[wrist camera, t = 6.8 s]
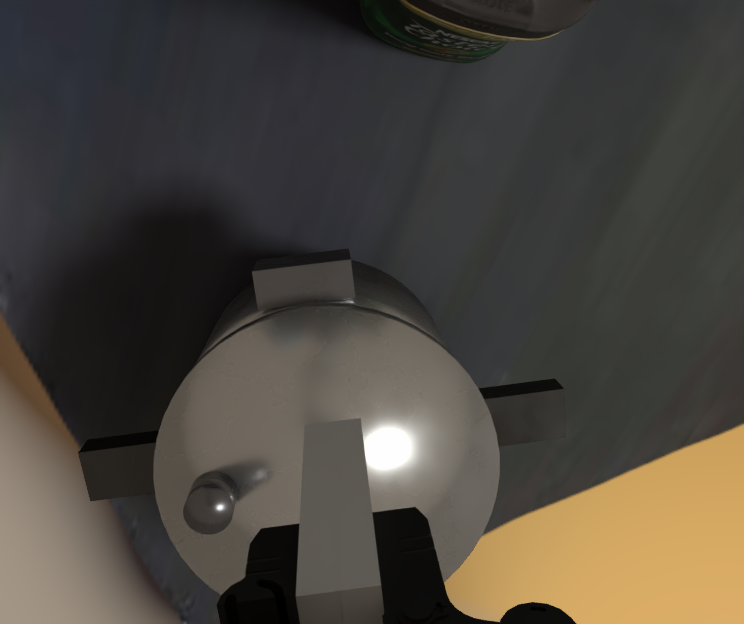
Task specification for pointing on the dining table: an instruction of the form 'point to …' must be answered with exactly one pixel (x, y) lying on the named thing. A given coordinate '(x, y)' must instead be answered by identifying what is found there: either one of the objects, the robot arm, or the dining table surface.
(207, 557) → the pot lid
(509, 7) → the coffee jar
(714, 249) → the dining table surface
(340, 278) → the steel pot
